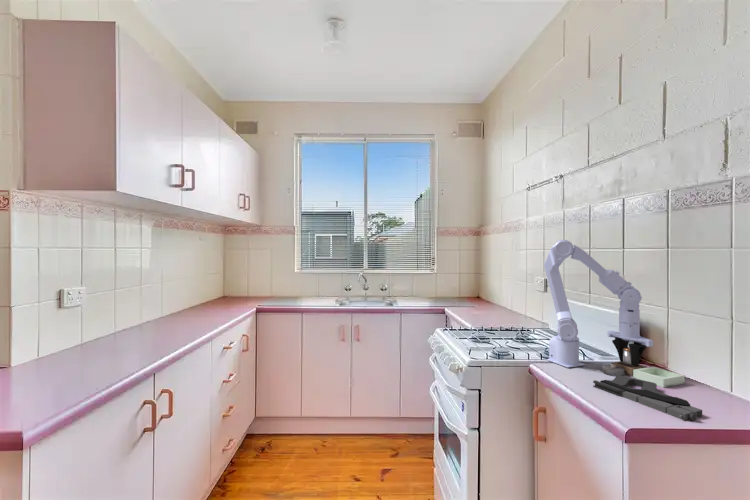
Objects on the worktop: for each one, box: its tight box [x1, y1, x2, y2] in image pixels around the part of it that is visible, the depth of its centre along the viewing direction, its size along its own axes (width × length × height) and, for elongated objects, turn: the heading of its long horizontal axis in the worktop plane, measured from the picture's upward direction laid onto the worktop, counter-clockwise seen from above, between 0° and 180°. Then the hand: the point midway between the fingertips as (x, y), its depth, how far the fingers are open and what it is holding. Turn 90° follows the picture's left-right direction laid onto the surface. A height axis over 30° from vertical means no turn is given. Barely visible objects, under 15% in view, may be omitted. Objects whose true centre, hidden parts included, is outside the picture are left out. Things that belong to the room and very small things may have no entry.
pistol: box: [592, 375, 703, 422], centre depth 105 cm, size 2×26×15 cm
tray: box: [632, 366, 685, 388], centre depth 118 cm, size 9×9×2 cm
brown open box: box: [602, 360, 648, 377], centre depth 126 cm, size 7×14×3 cm, turn 109°
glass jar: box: [623, 346, 636, 367], centre depth 127 cm, size 4×4×8 cm
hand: (629, 363), depth 127 cm, fingers closed on glass jar, 4 cm apart
